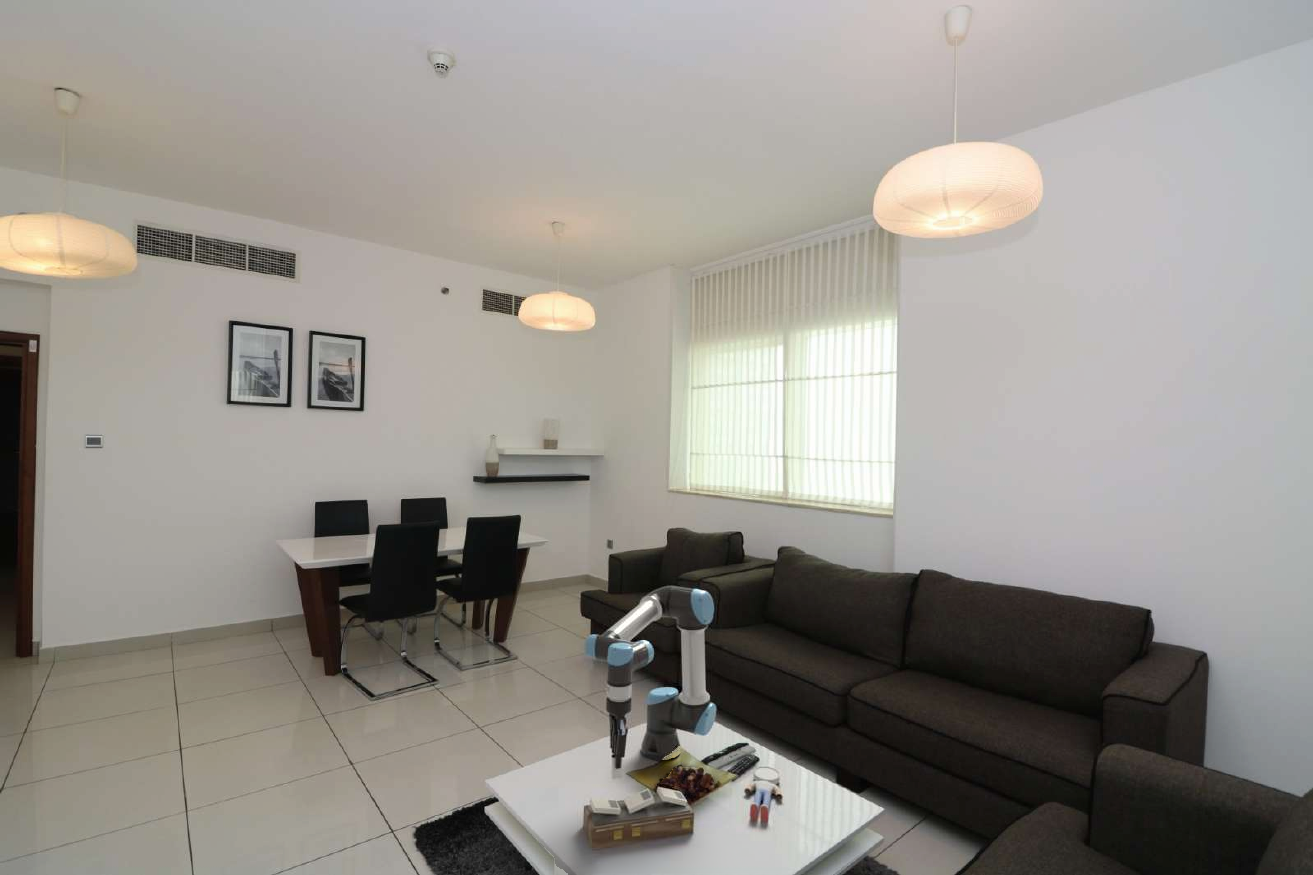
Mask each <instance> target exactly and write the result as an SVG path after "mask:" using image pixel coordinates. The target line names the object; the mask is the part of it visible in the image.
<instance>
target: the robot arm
mask: <svg viewBox="0 0 1313 875" xmlns="http://www.w3.org/2000/svg"><path fill="white" fill-rule="evenodd" d="M714 613H715V604H714V599H713V597H712V596H711V594H710V593H709V592H708V591H707V590H704V589H703V590H702V589H699V588H691V587H683V586H677V585H666V586H665V585H664V586H663V587H660V588H657V589H654V590H653V591H651V592H648V593H647V594H646V595H644V596H643V597H642V598H641V600H639V604H638V605H637V606H635V607H634V608H633V609H632V610H630V611H629V612H628V613H627V614H625V616H623V617H622V618H621V619H619V620H618V621H617V622H615V623H614V624H613V625H612V626H611V627H609V628H608V629H607V630H606V631H605V632H603V633H602V634H601V635H600V634H594V633H593V634H590V635H589V636H588V637H587V639H586V641H585V643H584V652H585V655H586V657H587V658H590V659H593V660H595V661H600V662H605V663H607V664H606V665H607V670H606V673H607V675H606V678H607V679H606V686H605V688H604V690H605V691H606V696H607V697H606V700H605V702H606V703H605V705H606V706H605V710H606V712H607V713H608V716H609V717H608V720H609V744H610V745H609V748H610V749H611V778H612V780H616V779H617V780H618V779H622V776H623V775H622V773H623V771H622V770H623V758H625V755H626V745H627V736H628V734H629V730H628V727H627V728H626V725H627V718H626V715H627V714H629V713H630V712H631V710H632V695H633V673H634V672H636V671H638V670H640V669H642V668H643V667H646V666H647V665H648V664H649V663H650V662H652V661H653V659H654V655H655V650H654V648H653V645H652V643H650V641H648V640H644V639H642V640H637V641H632V639H633V638H635V637H636V636H637V635H638V634H639V633H640V632H642V631H643V630H644V629H645V628H647V626H649V625H650V624H651V623H652V622H657V621H658V620H660V619H661V618H670V619H675V620H676V627H677V629H678V630H680V634H681V635H680V636H681V637H680V639H681V643H680V644H681V645H680V646H681V675H682V676H681V679H682V680H681V681H682V682H681V683H682V685H681V686H682V690H681V692H680V693H679V690H678V689H677V687H670V686H669V687H668V686H665V687H664V686H663V687H658V688H657V687H656V688H654V689H652V690H651V691H650V692H649V693H648V694H647V702H646V730H645V733H644V736H643V737H642V738H643V739H642V742H641V744H640V746H641V747H640V752H641V754H642V755H643V756H644V755H645V756H644V757H645V758H647V757H648V759H650V760H653V761H661V760H662V759H663V758H664V757H665V756H667V755H669V754H670V753H672V751H674V750H675V749H676V748H677V747H678V746H681V742H680V739H679V735H678V731H682V732H686V733H691V734H693V735H698V736H706V735H707V734H709V733H710V732H711V730H712V728H713V726H714V723H715V720H716V717H717V705H716V704H715V703H713V702H711V695H710V694H709V692H707V689H706V686H707V685H706V684H707V683H706V653H705V652H706V645H705V630H707V629H708V627H709V624H711V623H712V621H713V618H714ZM677 730H678V731H677Z"/></svg>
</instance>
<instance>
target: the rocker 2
mask: <svg viewBox="0 0 1313 875" xmlns="http://www.w3.org/2000/svg"><path fill="white" fill-rule="evenodd" d="M656 793H657V795H659V796H660V798H661V799H662V801H666V802H670V803H675V804H679V805H684V806H686V804H687V803H688V801H687V799H686V797H685V796H684V794H683V793H682V792H681V791H680V790H674V789H670V788H665V787H660V786H657V789H656Z"/></svg>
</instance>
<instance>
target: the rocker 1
mask: <svg viewBox="0 0 1313 875" xmlns="http://www.w3.org/2000/svg"><path fill="white" fill-rule="evenodd" d="M617 801H618V800H617V799H614V798H602V797H590V799H589V805H591V807H592V809H593V812H594V813H607V814H620V811H621V809H620V807H619V805H618V803H617Z"/></svg>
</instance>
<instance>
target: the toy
mask: <svg viewBox="0 0 1313 875" xmlns="http://www.w3.org/2000/svg"><path fill="white" fill-rule="evenodd" d="M753 780H754V781H751V782H750V783H749V784H748V785H747V786H746V787H745V789H744V790H743V792H744V794H745V795H750V794H751V793H752V792H753V791H755V793H754V799H753V803H751V804H750V807H749V808H750V809H749V818H750V820H753V821H757V820H758V819H759V818H760V821H761V822H762V823H768V821H769V819H770V818H769V810H770V805H771V800H772V799H771V797H772V795H773V794H774V795H775V797H776V799H777V800H778V801H782V800H783V799H784V796H783V794H782V792H781V789H780V787H779V786H778V784H779V782H780V772H779V771H778V770H777V769H776V768H773V767H770V766H766V765H763V766H758V767H756V768H755V769H754V770H753ZM761 801H763V802H762V804H761ZM759 811H760V814H759ZM759 815H760V816H759Z"/></svg>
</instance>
